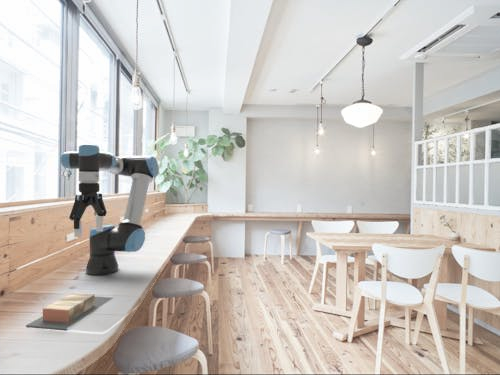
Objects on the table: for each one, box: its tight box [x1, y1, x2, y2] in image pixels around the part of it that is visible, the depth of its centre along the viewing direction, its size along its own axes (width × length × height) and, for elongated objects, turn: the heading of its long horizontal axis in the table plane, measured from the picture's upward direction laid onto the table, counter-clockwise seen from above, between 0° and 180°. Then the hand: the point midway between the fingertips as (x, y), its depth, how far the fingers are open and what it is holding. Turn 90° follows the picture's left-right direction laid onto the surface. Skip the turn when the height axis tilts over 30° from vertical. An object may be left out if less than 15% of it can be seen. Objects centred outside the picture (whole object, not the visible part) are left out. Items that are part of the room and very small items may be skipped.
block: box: [42, 292, 96, 322], centre depth 110 cm, size 4×9×14 cm
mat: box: [25, 295, 113, 332], centre depth 112 cm, size 26×14×1 cm, turn 172°
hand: (89, 234), depth 129 cm, fingers open, 13 cm apart
